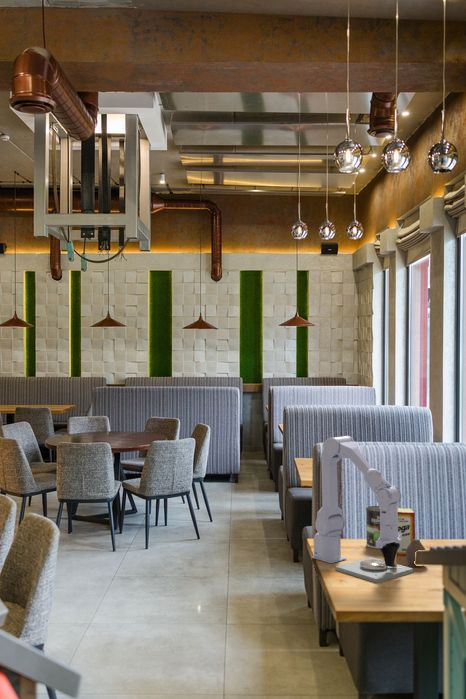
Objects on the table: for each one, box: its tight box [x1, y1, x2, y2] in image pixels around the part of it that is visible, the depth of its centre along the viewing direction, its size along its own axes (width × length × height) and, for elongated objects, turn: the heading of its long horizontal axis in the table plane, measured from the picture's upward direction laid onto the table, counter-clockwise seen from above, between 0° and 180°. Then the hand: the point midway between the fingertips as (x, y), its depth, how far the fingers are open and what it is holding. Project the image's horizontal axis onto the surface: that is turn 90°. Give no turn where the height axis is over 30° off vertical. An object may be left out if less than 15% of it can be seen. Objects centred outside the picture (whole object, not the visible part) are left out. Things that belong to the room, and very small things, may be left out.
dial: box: [360, 553, 398, 571], centre depth 230 cm, size 12×9×4 cm
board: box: [335, 556, 414, 584], centre depth 230 cm, size 18×18×1 cm
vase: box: [405, 538, 426, 568], centre depth 236 cm, size 7×7×9 cm
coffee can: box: [365, 505, 380, 550], centre depth 262 cm, size 10×10×14 cm
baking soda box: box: [395, 507, 416, 557], centre depth 251 cm, size 10×6×16 cm
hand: (389, 565), depth 225 cm, fingers closed
